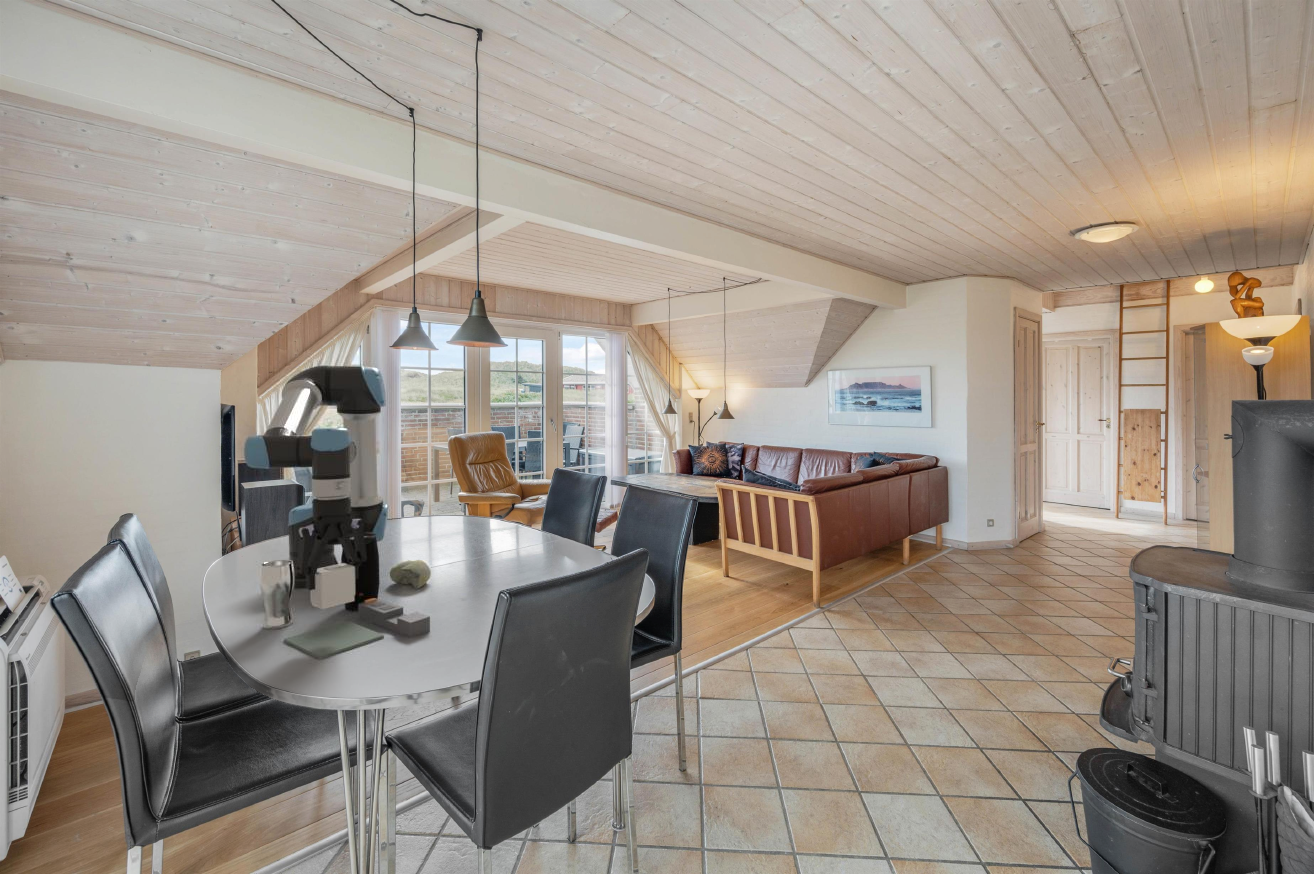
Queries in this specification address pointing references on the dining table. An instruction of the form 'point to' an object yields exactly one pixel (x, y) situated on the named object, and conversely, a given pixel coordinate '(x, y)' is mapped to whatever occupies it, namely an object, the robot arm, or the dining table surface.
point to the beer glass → (277, 592)
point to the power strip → (393, 617)
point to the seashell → (411, 573)
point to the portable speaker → (365, 572)
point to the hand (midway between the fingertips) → (333, 598)
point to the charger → (336, 585)
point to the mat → (333, 639)
